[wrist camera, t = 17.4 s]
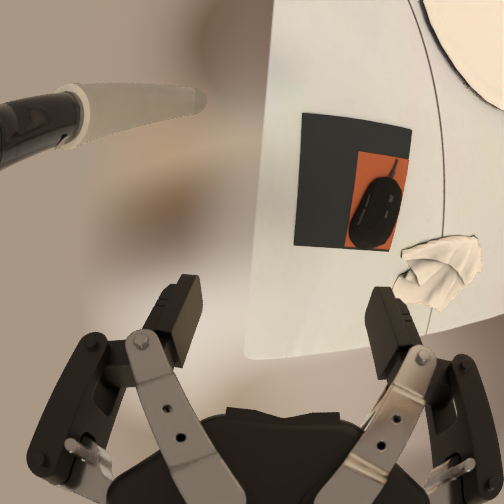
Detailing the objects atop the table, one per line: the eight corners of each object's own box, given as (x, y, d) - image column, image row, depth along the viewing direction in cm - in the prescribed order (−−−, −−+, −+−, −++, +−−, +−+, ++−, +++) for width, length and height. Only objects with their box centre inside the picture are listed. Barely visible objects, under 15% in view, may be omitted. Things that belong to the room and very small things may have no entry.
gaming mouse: (414, 167, 33) (426, 175, 30) (375, 250, 41) (382, 264, 37) (378, 150, 33) (388, 156, 29) (341, 239, 41) (346, 253, 37)
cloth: (489, 263, 39) (495, 270, 37) (417, 328, 50) (420, 336, 48) (452, 197, 35) (460, 203, 32) (364, 282, 45) (367, 291, 43)
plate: (548, 92, 17) (553, 93, 16) (474, 132, 28) (480, 133, 27) (482, -38, 7) (486, -40, 5) (380, -31, 17) (384, -35, 16)
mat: (293, 244, 43) (293, 246, 42) (302, 112, 32) (302, 113, 32) (388, 250, 41) (389, 252, 41) (411, 129, 31) (412, 130, 30)
